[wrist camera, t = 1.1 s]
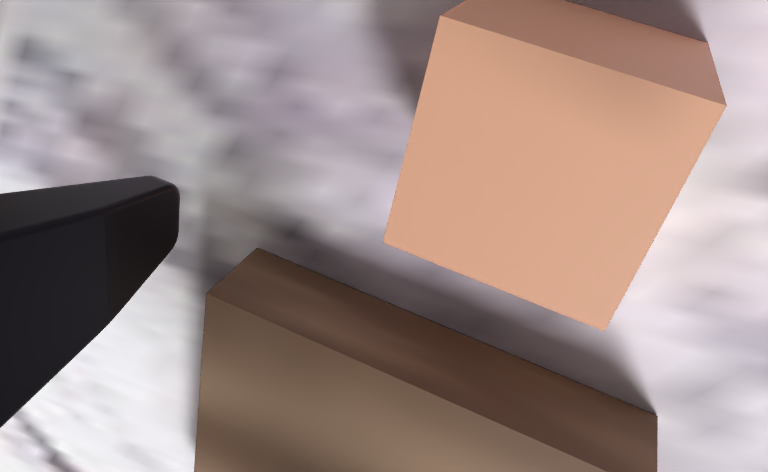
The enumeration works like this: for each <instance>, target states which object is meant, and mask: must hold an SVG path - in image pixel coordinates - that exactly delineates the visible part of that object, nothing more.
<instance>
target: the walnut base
mask: <svg viewBox="0 0 768 472" xmlns="http://www.w3.org/2000/svg"><path fill="white" fill-rule="evenodd" d="M194 472H657V416H656V415H654V414H651V413H649V412H646V411H644V410H642V409H639V408H637V407H635V406H632V405H630V404H627V403H625V402H623V401H620V400H618V399H615V398H613V397H611V396H608V395H606V394H604V393H601V392H599V391H596V390H594V389H592V388H589V387H587V386H584V385H582V384H580V383H577V382H575V381H573V380H570V379H568V378H565V377H563V376H561V375H558V374H556V373H554V372H551V371H549V370H546V369H544V368H542V367H539V366H537V365H534V364H532V363H530V362H527V361H525V360H523V359H520V358H518V357H515V356H513V355H511V354H508V353H506V352H503V351H501V350H499V349H496V348H494V347H492V346H489V345H487V344H484V343H482V342H480V341H477V340H475V339H472V338H470V337H468V336H465V335H463V334H461V333H458V332H456V331H453V330H451V329H449V328H446V327H444V326H442V325H439V324H437V323H434V322H432V321H430V320H427V319H425V318H422V317H420V316H418V315H415V314H413V313H411V312H408V311H406V310H403V309H401V308H399V307H396V306H394V305H391V304H389V303H387V302H384V301H382V300H380V299H377V298H375V297H372V296H370V295H368V294H365V293H363V292H360V291H358V290H356V289H353V288H351V287H349V286H346V285H344V284H341V283H339V282H337V281H334V280H332V279H330V278H327V277H325V276H322V275H320V274H318V273H315V272H313V271H310V270H308V269H306V268H303V267H301V266H299V265H296V264H294V263H291V262H289V261H287V260H284V259H282V258H279V257H277V256H275V255H272V254H270V253H268V252H265V251H263V250H260V249H258V248H256V249H255V250H254V251H253V252H252V253H251V254H250V255H249V256H247V257H246V258H245V259H244V260H243V261H242V262H241V263H240V264H239V265H237V266H236V267H235V268H234V269H233V270H232V271H231V272H230V273H229V274H227V275H226V276H225V277H224V278H223V279H222V280H221V281H220V282H219V283H217V284H216V285H215V286H214V287H213V288H212V289H211V290H210V291H209V292H207V293H206V305H205V320H204V334H203V349H202V364H201V378H200V393H199V407H198V422H197V437H196V451H195V466H194Z"/></svg>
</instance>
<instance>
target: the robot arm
mask: <svg viewBox="0 0 768 472" xmlns="http://www.w3.org/2000/svg"><path fill="white" fill-rule="evenodd" d="M179 205H180V193H179V190H178V188H177V187H176V186H175V185H174V184H172V183H169V182H167V181H165V180H162V179H160V178H157V177H154V176H142V177H134V178H126V179H118V180H110V181H101V182H93V183H85V184H77V185H69V186H60V187H52V188H44V189H36V190H28V191H20V192H11V193H3V194H0V428H1V427H2V426H3V425H4V424H5V423H6V422H7V421H8V420H9V419H10V418H11V417H12V416H13V415H14V414H15V413H16V412H18V411H19V410H20V409H21V408H22V407H23V406H24V405H25V404H26V403H27V402H28V401H29V400H30V399H31V398H32V397H33V396H34V395H35V394H36V393H37V392H38V391H39V390H41V389H42V388H43V387H44V386H45V385H46V384H47V383H48V382H49V381H50V380H51V379H52V378H53V377H54V376H55V375H56V374H57V373H58V372H59V371H60V370H61V369H62V368H63V367H65V366H66V365H67V364H68V363H69V362H70V361H71V360H72V359H73V358H74V357H75V356H76V355H77V354H78V353H79V352H80V351H81V350H82V349H83V348H84V347H85V346H86V345H88V344H89V343H90V342H91V341H92V340H93V339H94V338H95V337H96V336H97V335H98V334H99V333H100V332H101V331H102V330H103V329H104V328H105V327H106V326H107V325H108V324H109V323H110V322H111V321H112V319H113V318H114V317H115V316H116V315H117V314H118V313H119V312H120V311H121V309H122V308H123V307H124V306H125V305H126V303H127V302H128V301H129V300H130V299H131V297H132V296H133V295H134V294H135V293H136V292H137V290H138V289H139V288H140V287H141V286H142V284H143V283H144V282H145V281H146V280H147V279H148V277H149V276H150V275H151V274H152V273H153V271H154V270H155V269H156V268H157V267H158V265H159V264H160V263H161V262H162V261H163V260H164V258H165V257H166V256H167V255H168V254H169V252H170V251H171V250H172V248H173V247H174V245H175V243H176V241H177V238H178V232H179Z"/></svg>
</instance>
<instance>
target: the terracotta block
mask: <svg viewBox="0 0 768 472" xmlns="http://www.w3.org/2000/svg"><path fill="white" fill-rule="evenodd" d="M726 106H727V105H726V102H725V99H724V95H723V92H722V88H721V85H720V82H719V78H718V75H717V72H716V68H715V65H714V61H713V58H712V55H711V51H710V48H709V44H708V43H706V42H703V41H699V40H696V39H693V38H689V37H686V36H682V35H679V34H676V33H672V32H669V31H666V30H662V29H659V28H656V27H652V26H649V25H646V24H642V23H639V22H635V21H632V20H629V19H625V18H622V17H619V16H615V15H612V14H609V13H605V12H602V11H599V10H595V9H592V8H588V7H585V6H582V5H578V4H575V3H572V2H568V1H565V0H465V1H463V2H462V3H460V4H458V5H457V6H455V7H453V8H451V9H450V10H448V11H446V12H445V13H443V14H441V15H440V17H439V21H438V25H437V29H436V33H435V37H434V41H433V45H432V49H431V53H430V57H429V61H428V65H427V69H426V73H425V77H424V81H423V85H422V89H421V93H420V97H419V101H418V105H417V109H416V112H415V116H414V120H413V124H412V128H411V132H410V136H409V140H408V144H407V148H406V152H405V156H404V160H403V164H402V168H401V172H400V176H399V180H398V184H397V188H396V192H395V196H394V200H393V204H392V208H391V212H390V215H389V219H388V223H387V227H386V231H385V235H384V239H383V243H385V244H387V245H390V246H392V247H395V248H397V249H400V250H402V251H405V252H407V253H410V254H412V255H415V256H417V257H420V258H422V259H425V260H427V261H430V262H432V263H435V264H437V265H440V266H442V267H445V268H447V269H450V270H452V271H455V272H457V273H460V274H462V275H465V276H467V277H470V278H472V279H475V280H477V281H480V282H482V283H485V284H487V285H490V286H492V287H495V288H497V289H500V290H502V291H505V292H507V293H510V294H512V295H515V296H517V297H520V298H522V299H525V300H527V301H530V302H532V303H535V304H537V305H540V306H542V307H545V308H547V309H550V310H552V311H555V312H557V313H560V314H562V315H565V316H567V317H570V318H572V319H575V320H577V321H580V322H582V323H585V324H587V325H590V326H592V327H595V328H597V329H600V330H602V331H605V330H606V328H607V326H608V324H609V322H610V320H611V318H612V317H613V315H614V313H615V311H616V309H617V307H618V306H619V304H620V302H621V300H622V298H623V296H624V294H625V293H626V291H627V289H628V287H629V285H630V283H631V281H632V280H633V278H634V276H635V274H636V272H637V270H638V269H639V267H640V265H641V263H642V261H643V259H644V257H645V256H646V254H647V252H648V250H649V248H650V246H651V245H652V243H653V241H654V239H655V237H656V235H657V233H658V232H659V230H660V228H661V226H662V224H663V222H664V220H665V219H666V217H667V215H668V213H669V211H670V209H671V208H672V206H673V204H674V202H675V200H676V198H677V196H678V195H679V193H680V191H681V189H682V187H683V185H684V184H685V182H686V180H687V178H688V176H689V174H690V172H691V171H692V169H693V167H694V165H695V163H696V161H697V159H698V158H699V156H700V154H701V152H702V150H703V148H704V147H705V145H706V143H707V141H708V139H709V137H710V135H711V134H712V132H713V130H714V128H715V126H716V124H717V122H718V121H719V119H720V117H721V115H722V113H723V111H724V110H725V108H726Z"/></svg>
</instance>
